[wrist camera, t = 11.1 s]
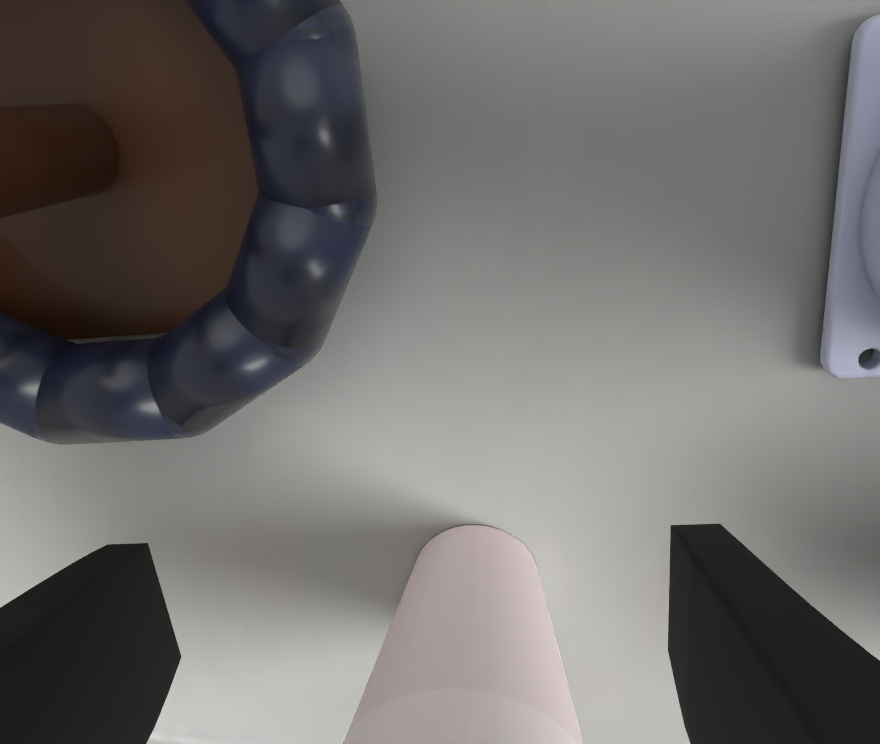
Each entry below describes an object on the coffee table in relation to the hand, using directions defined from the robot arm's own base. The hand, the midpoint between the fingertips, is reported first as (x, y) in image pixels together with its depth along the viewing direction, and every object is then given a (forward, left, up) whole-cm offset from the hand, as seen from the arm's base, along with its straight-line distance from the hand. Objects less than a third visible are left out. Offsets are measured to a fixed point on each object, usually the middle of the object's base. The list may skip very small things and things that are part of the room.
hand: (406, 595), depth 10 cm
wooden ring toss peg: (+8, -6, -9) cm, 14 cm away
